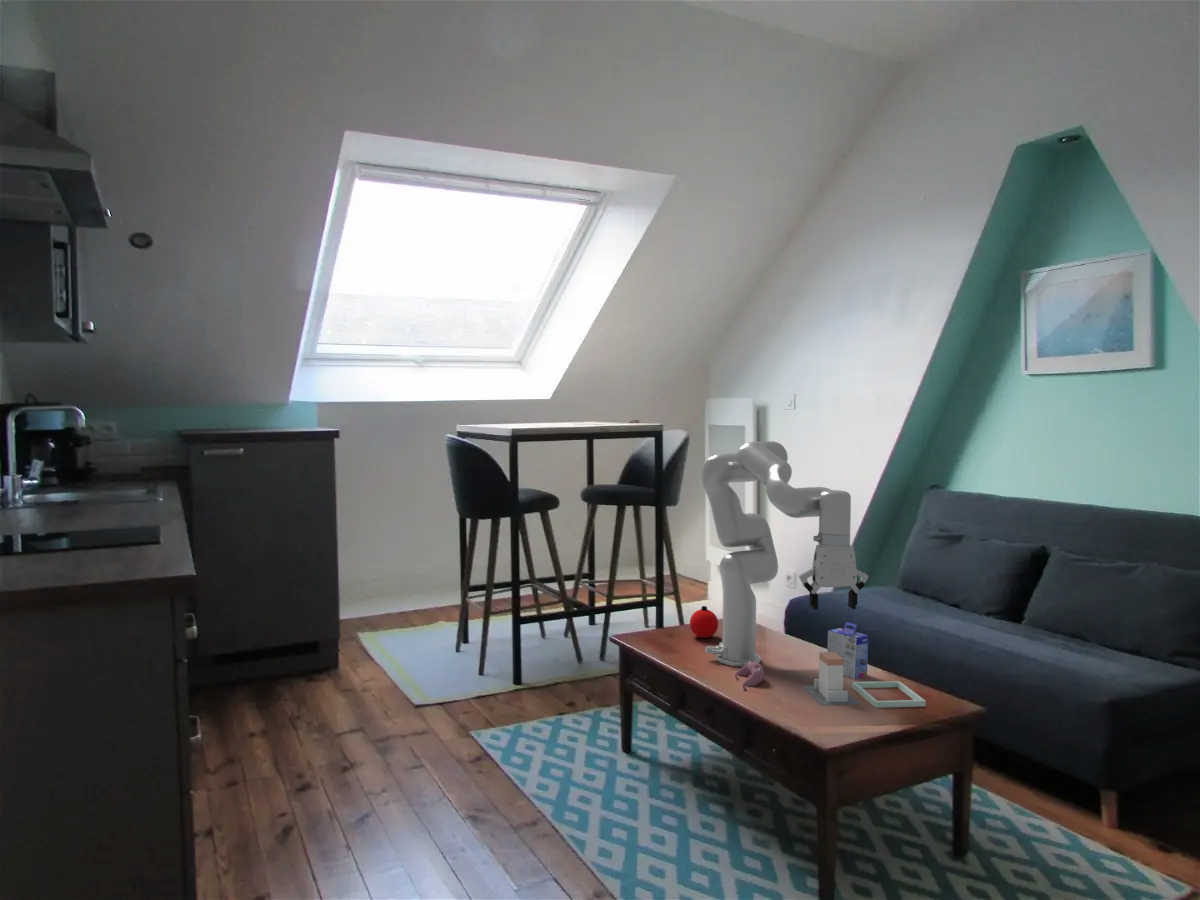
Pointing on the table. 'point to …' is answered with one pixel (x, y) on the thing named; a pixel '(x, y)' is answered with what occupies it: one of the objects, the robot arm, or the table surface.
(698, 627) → the ornament
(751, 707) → the table surface
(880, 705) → the tray
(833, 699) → the block
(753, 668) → the video game controller
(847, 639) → the ink cartridge box
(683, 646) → the table surface
